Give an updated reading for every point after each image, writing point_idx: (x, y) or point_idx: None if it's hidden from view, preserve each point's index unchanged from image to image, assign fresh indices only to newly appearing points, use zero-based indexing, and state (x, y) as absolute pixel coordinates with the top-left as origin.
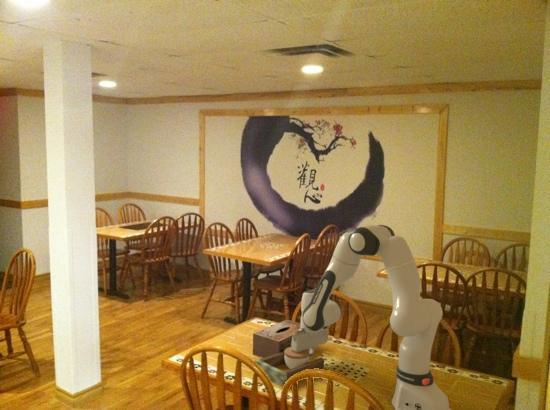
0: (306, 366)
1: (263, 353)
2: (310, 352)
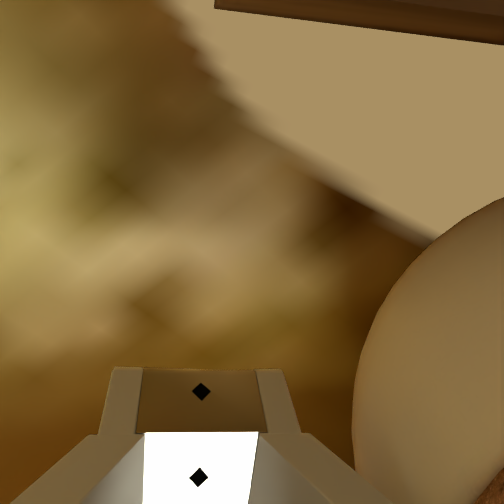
0: None
1: None
2: (151, 484)
